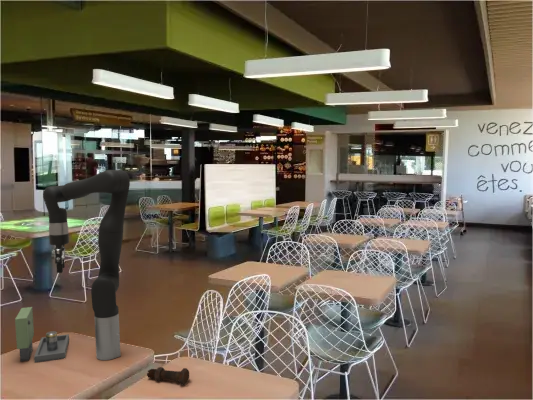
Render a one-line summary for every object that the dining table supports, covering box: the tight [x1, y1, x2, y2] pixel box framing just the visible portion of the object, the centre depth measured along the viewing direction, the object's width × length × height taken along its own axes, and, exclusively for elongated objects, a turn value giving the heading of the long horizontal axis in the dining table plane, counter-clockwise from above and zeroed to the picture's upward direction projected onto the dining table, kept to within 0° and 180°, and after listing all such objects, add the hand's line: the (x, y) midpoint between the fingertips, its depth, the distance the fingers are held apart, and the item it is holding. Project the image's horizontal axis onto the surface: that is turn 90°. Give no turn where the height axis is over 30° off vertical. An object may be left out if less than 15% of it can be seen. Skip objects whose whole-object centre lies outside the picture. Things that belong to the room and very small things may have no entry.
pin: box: [45, 330, 58, 351], centre depth 192 cm, size 4×4×7 cm
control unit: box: [14, 306, 35, 363], centre depth 186 cm, size 5×14×18 cm, turn 19°
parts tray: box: [33, 334, 70, 363], centre depth 192 cm, size 11×20×2 cm, turn 19°
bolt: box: [146, 366, 190, 386], centre depth 165 cm, size 6×5×15 cm
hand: (60, 270), depth 197 cm, fingers open, 8 cm apart
